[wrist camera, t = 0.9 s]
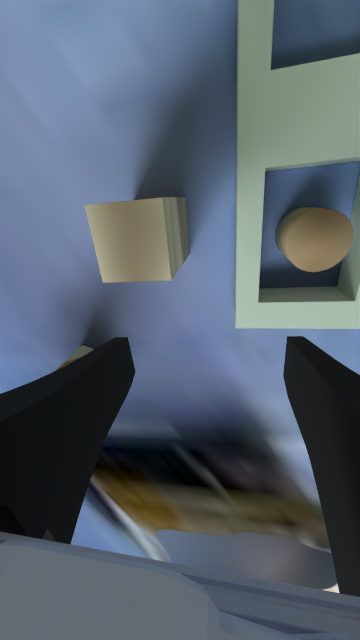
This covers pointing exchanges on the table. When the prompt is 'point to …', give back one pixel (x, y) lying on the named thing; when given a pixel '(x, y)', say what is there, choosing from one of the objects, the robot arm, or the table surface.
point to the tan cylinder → (314, 237)
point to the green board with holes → (290, 167)
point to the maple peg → (140, 238)
